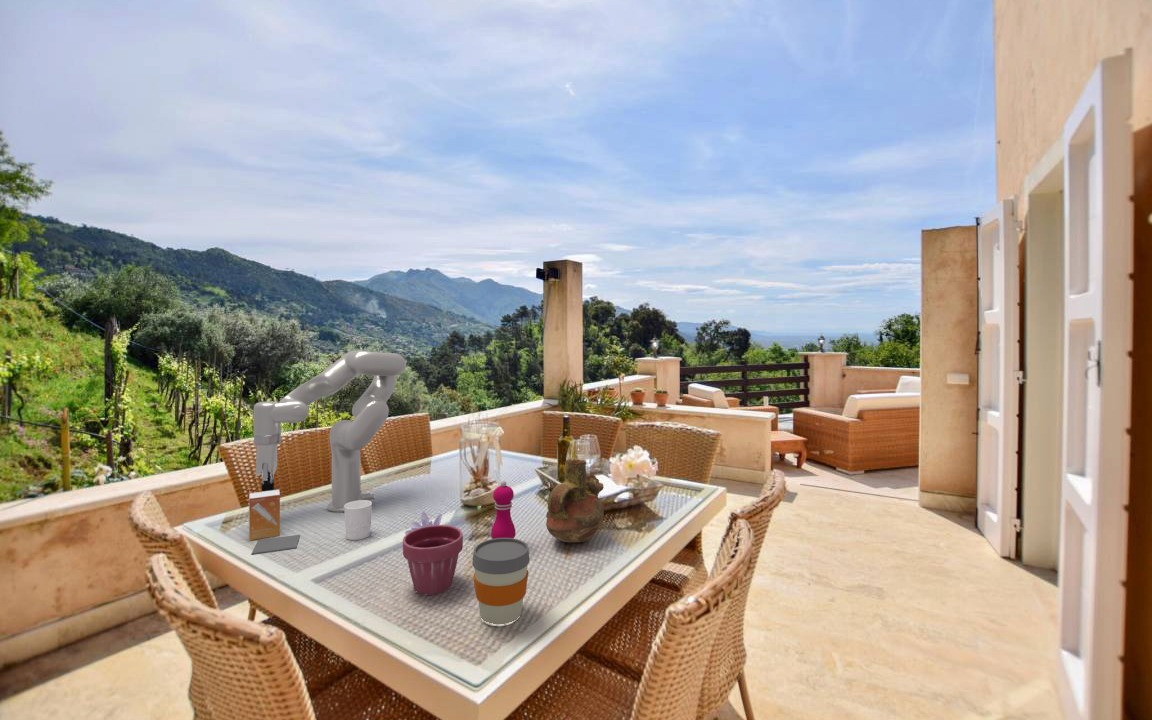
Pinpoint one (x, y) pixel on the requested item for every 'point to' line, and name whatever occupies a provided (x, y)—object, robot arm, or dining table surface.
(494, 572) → the reusable coffee cup
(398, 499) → the dining table surface
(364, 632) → the dining table surface
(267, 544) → the mat
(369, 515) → the white cup
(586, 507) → the ceramic vessel
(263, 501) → the small box
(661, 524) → the dining table surface
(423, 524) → the water lily
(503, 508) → the pepper mill
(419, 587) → the plant pot
